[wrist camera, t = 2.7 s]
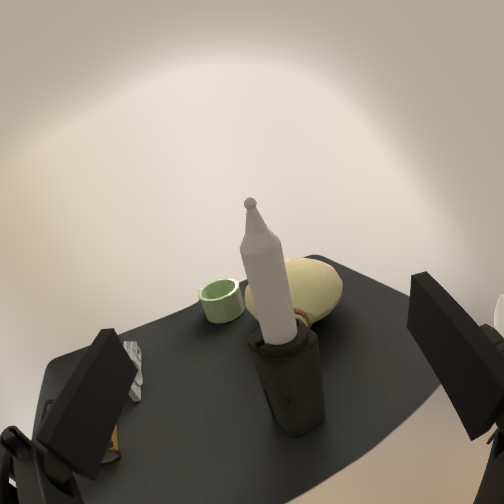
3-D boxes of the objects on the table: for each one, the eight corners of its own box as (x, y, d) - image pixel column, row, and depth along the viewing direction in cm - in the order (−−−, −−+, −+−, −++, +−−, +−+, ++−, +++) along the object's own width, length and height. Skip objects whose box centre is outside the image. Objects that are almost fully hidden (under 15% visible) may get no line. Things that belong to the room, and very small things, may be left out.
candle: (268, 413, 29) (202, 205, 20) (304, 392, 31) (262, 185, 22) (291, 441, 25) (229, 215, 16) (329, 417, 27) (301, 190, 17)
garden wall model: (135, 355, 45) (120, 330, 42) (143, 353, 45) (129, 327, 43) (133, 404, 34) (112, 377, 32) (143, 401, 34) (124, 374, 32)
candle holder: (250, 299, 54) (244, 277, 53) (236, 324, 48) (229, 300, 46) (215, 299, 57) (208, 278, 55) (199, 322, 51) (190, 300, 49)
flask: (338, 285, 51) (354, 355, 35) (256, 296, 55) (243, 368, 39) (333, 240, 47) (354, 304, 32) (244, 254, 51) (225, 321, 35)
